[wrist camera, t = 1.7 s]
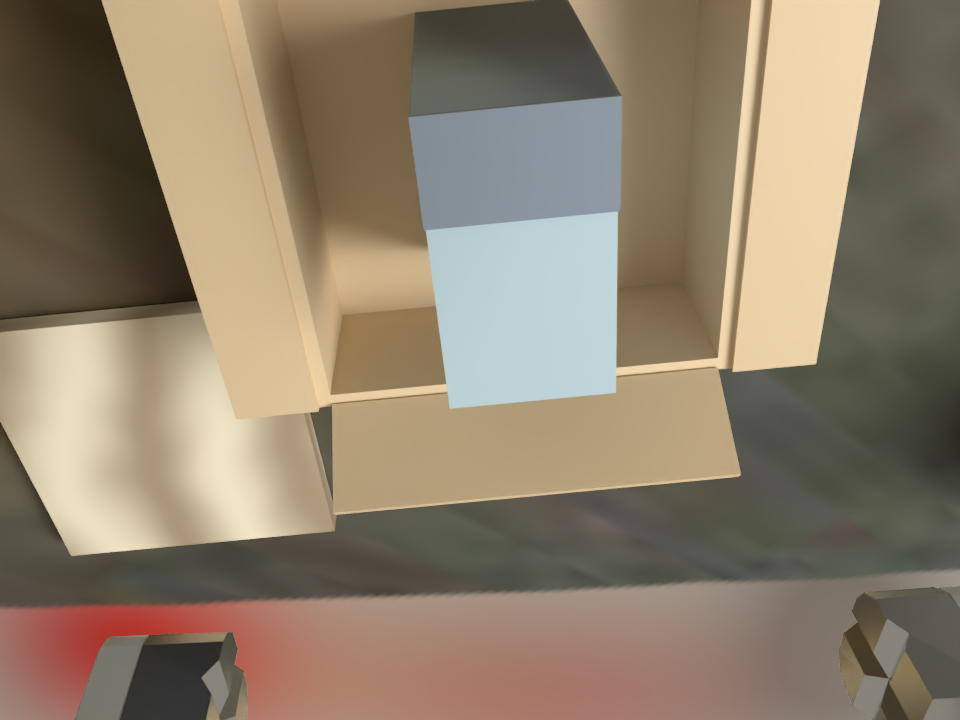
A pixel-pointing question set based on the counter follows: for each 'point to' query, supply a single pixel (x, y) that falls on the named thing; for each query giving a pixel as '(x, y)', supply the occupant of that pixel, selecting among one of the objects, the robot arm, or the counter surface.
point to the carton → (403, 242)
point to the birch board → (150, 435)
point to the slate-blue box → (518, 199)
